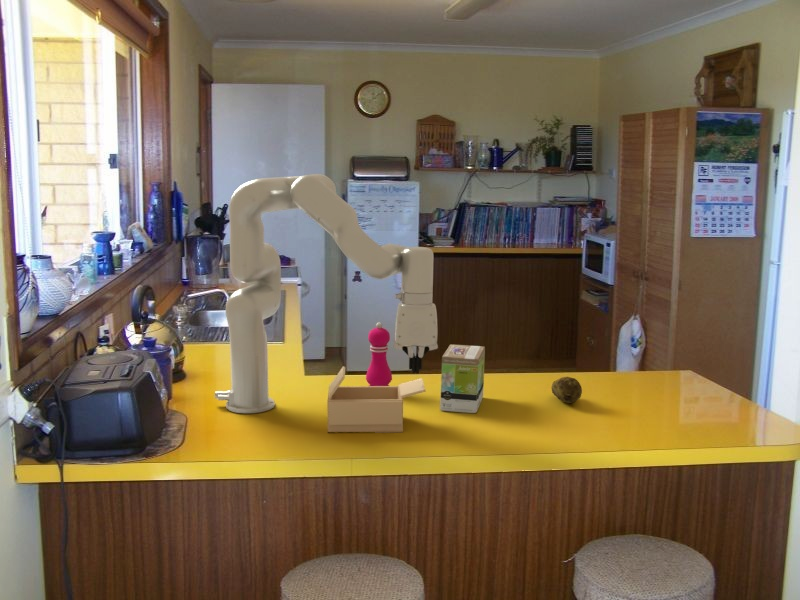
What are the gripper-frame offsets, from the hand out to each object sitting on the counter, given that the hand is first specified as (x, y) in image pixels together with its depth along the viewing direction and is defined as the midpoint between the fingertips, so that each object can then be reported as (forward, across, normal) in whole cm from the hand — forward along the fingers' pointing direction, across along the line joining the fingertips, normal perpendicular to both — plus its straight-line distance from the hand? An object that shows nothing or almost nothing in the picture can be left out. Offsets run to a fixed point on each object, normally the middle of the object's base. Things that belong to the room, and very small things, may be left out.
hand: (415, 372), depth 207 cm
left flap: (+5, -21, 0) cm, 21 cm away
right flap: (+5, -4, 0) cm, 6 cm away
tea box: (+13, +14, +16) cm, 25 cm away
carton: (+13, -12, 0) cm, 18 cm away
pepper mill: (+14, -8, +27) cm, 31 cm away
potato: (+13, +42, +16) cm, 47 cm away
